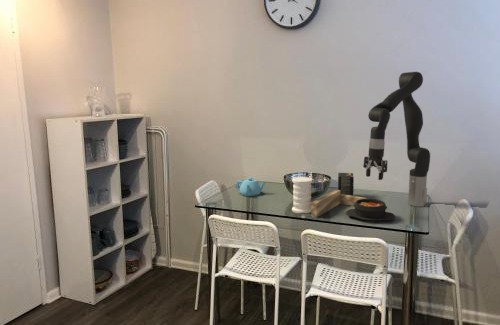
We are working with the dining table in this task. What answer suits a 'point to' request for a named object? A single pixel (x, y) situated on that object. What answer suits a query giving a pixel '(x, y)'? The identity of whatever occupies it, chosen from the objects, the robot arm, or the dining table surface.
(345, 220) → the dining table surface
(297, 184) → the decorative container
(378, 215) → the casserole
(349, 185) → the tampon box
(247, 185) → the teapot
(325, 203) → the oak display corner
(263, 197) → the dining table surface
